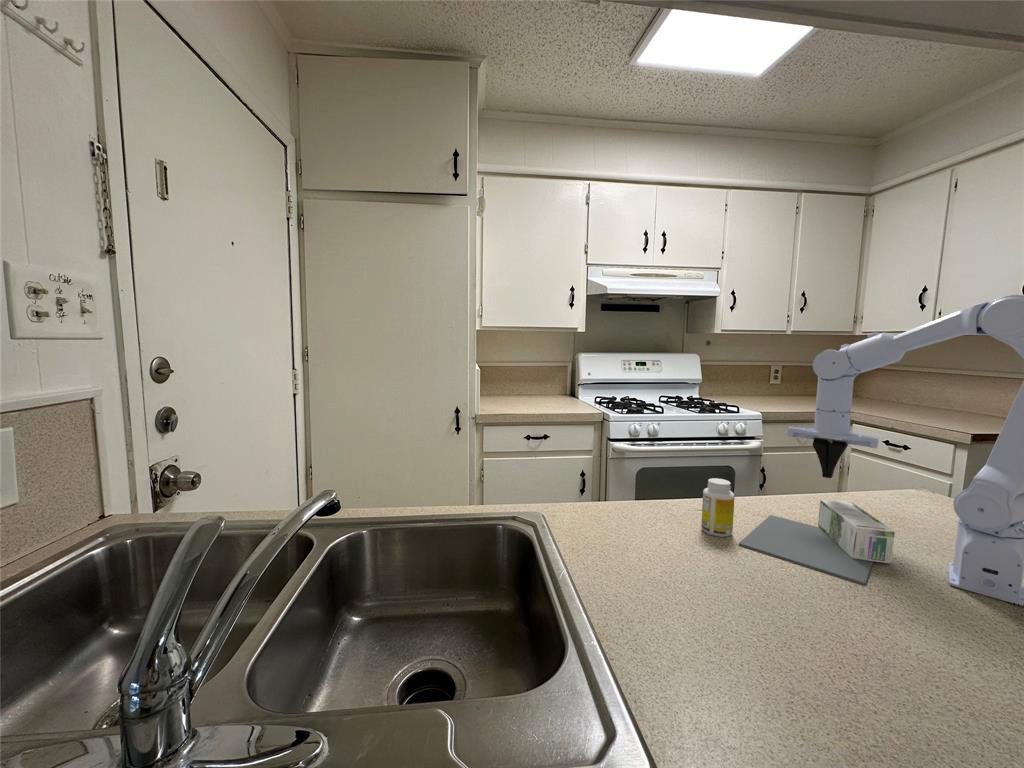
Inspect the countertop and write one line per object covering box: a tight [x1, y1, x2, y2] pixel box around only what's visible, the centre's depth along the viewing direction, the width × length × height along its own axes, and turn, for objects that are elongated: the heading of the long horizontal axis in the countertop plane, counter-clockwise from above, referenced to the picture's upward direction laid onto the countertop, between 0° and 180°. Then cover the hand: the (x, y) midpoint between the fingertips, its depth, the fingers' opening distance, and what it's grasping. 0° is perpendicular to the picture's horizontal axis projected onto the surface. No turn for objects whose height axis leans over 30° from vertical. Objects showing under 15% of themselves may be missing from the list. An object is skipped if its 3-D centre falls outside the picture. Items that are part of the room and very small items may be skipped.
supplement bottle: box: [701, 477, 735, 538], centre depth 83 cm, size 6×6×10 cm
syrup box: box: [817, 499, 896, 564], centre depth 79 cm, size 6×6×14 cm
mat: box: [738, 514, 875, 586], centre depth 79 cm, size 20×18×1 cm
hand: (827, 476), depth 87 cm, fingers closed
